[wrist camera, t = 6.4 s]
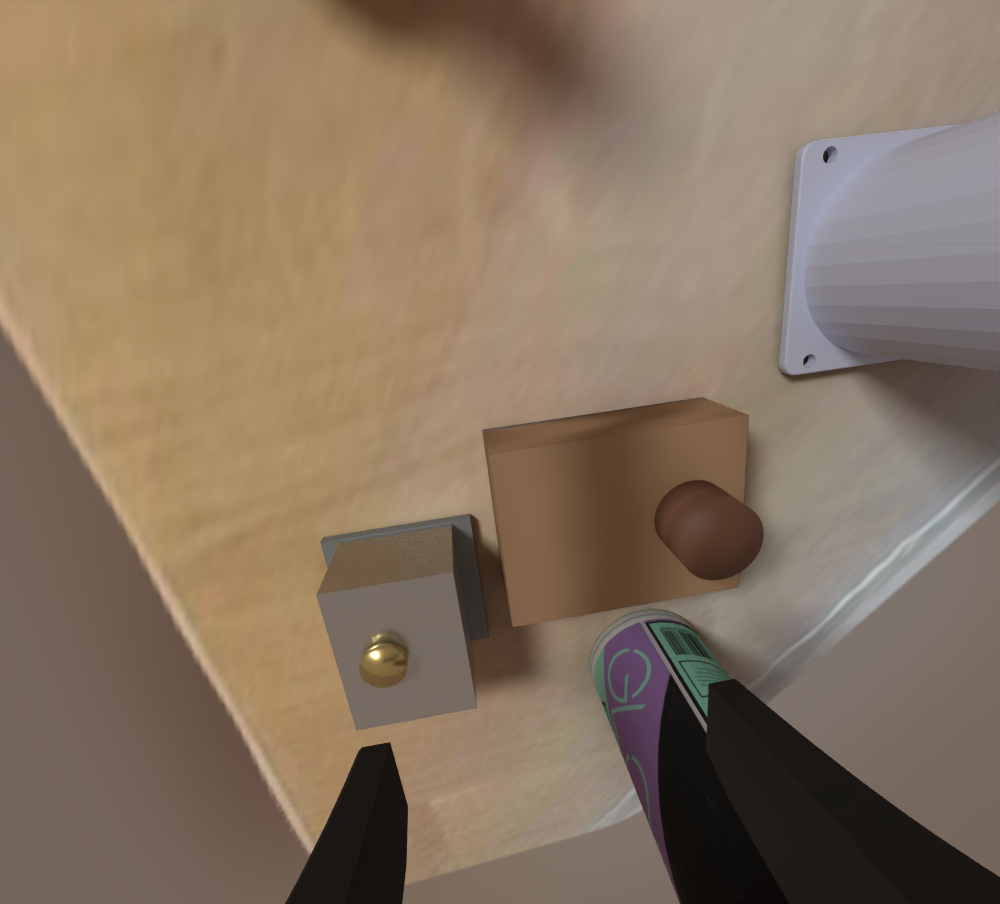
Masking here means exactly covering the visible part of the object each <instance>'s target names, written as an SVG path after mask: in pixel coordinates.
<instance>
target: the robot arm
mask: <svg viewBox="0 0 1000 904" xmlns="http://www.w3.org/2000/svg"><path fill="white" fill-rule="evenodd" d="M825 150H826V151H827V153H828V157H829V158H828V161H827V163H825V162H824V160H823V154H824V151H825ZM807 355H808V361H807V363H806V364H805V365H803V360H804V358H805V357H806V356H807ZM903 359H905V360H913V361H920V362H927V363H935V364H942V365H950V366H957V367H965V368H972V369H980V370H987V371H994V372H1000V111H999V112H996V113H993V114H990V115H987V116H984V117H981V118H978V119H975V120H972V121H969V122H966V123H963V124H958V125H949V126H940V127H931V128H922V129H913V130H904V131H895V132H886V133H877V134H867V135H858V136H849V137H840V138H831V139H822V140H816V141H813V142H810V143H808V144H806V145H804V146H803V147H802V148H801V149H800V150H799V152H798V153H797V156H796V160H795V171H794V183H793V196H792V208H791V221H790V233H789V246H788V258H787V271H786V283H785V296H784V308H783V321H782V333H781V346H780V359H779V367H780V369H781V371H782V372H783V373H785V374H788V375H801V374H808V373H815V372H821V371H828V370H835V369H842V368H849V367H855V366H862V365H869V364H876V363H883V362H890V361H896V360H903ZM706 750H707V752H708V754H709V757H710V759H711V761H712V763H713V766H714V768H715V770H716V772H717V775H718V777H719V779H720V781H721V783H722V785H723V787H724V789H725V792H726V794H727V796H728V798H729V800H730V802H731V804H732V806H733V807H734V809H735V811H736V813H737V814H738V816H739V818H740V820H741V821H742V823H743V825H744V827H745V828H746V830H747V832H748V833H749V835H750V837H751V839H752V840H753V842H754V844H755V846H756V847H757V849H758V851H759V852H760V854H761V856H762V858H763V859H764V861H765V863H766V864H767V866H768V868H769V870H770V871H771V873H772V875H773V876H774V878H775V880H776V882H777V883H778V885H779V887H780V888H781V890H782V892H783V894H784V895H785V897H786V899H787V901H788V902H789V904H1000V877H999V876H997V875H996V874H994V873H993V872H991V871H989V870H988V869H986V868H985V867H983V866H982V865H980V864H979V863H977V862H975V861H974V860H973V859H971V858H969V857H968V856H967V855H965V854H964V853H962V852H960V851H959V850H957V849H956V848H954V847H953V846H951V845H950V844H948V843H947V842H945V841H944V840H942V839H941V838H939V837H938V836H936V835H935V834H934V833H932V832H931V831H929V830H928V829H926V828H925V827H924V826H922V825H920V824H919V823H918V822H916V821H915V820H914V819H912V818H911V817H909V816H908V815H906V814H905V813H904V812H902V811H901V810H899V809H898V808H897V807H895V806H894V805H893V804H891V803H890V802H888V801H887V800H886V799H884V798H883V797H882V796H880V795H879V794H877V793H876V792H875V791H874V790H872V789H871V788H869V787H868V786H867V785H866V784H864V783H863V782H862V781H860V780H859V779H858V778H856V777H855V776H854V775H852V774H851V773H850V772H849V771H847V770H846V769H845V768H843V767H842V766H841V765H840V764H838V763H837V762H836V761H835V760H833V759H832V758H831V757H829V756H828V755H827V754H826V753H824V752H823V751H822V750H821V749H819V748H818V747H817V746H815V745H814V744H813V743H812V742H810V741H809V740H808V739H807V738H805V737H804V736H803V735H801V733H799V732H798V731H797V730H796V729H795V728H793V727H792V726H791V725H790V724H788V723H787V722H786V721H785V720H783V719H782V718H781V717H780V716H779V715H778V714H776V713H775V712H774V711H773V710H772V709H770V708H769V707H768V706H767V705H766V704H764V703H763V702H762V701H761V700H760V699H759V698H757V697H756V696H755V695H754V694H753V693H751V692H750V691H749V690H748V689H747V688H745V687H744V686H743V685H742V684H741V683H739V682H738V681H737V680H735V679H730V680H725V681H719V682H714V683H709V685H708V711H707V736H706ZM407 824H408V805H407V802H406V798H405V794H404V791H403V787H402V784H401V780H400V776H399V773H398V769H397V766H396V762H395V758H394V755H393V751H392V748H391V744H390V742H389V743H384V744H378V745H373V746H367V747H362V748H361V749H360V750H359V752H358V753H357V756H356V758H355V761H354V763H353V765H352V768H351V770H350V772H349V775H348V777H347V779H346V782H345V784H344V786H343V788H342V791H341V793H340V795H339V797H338V799H337V802H336V804H335V806H334V808H333V810H332V812H331V814H330V816H329V819H328V821H327V823H326V825H325V827H324V829H323V831H322V833H321V835H320V837H319V839H318V841H317V843H316V845H315V847H314V849H313V851H312V853H311V855H310V857H309V859H308V861H307V863H306V865H305V867H304V869H303V871H302V873H301V875H300V877H299V879H298V881H297V883H296V885H295V886H294V888H293V890H292V892H291V894H290V896H289V898H288V899H287V901H286V903H285V904H402V900H403V891H404V882H405V873H406V858H407Z"/></svg>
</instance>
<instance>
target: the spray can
mask: <svg viewBox="0 0 1000 904" xmlns="http://www.w3.org/2000/svg"><path fill="white" fill-rule="evenodd" d="M590 669H591V674H592V677H593V680H594V684H595V686H596V689H597V691H598V694H599V696H600V699H601V702H602V704H603V707H604V709H605V712H606V715H607V717H608V720H609V722H610V725H611V727H612V730H613V733H614V735H615V738H616V740H617V743H618V745H619V748H620V751H621V753H622V756H623V758H624V761H625V763H626V766H627V769H628V771H629V774H630V776H631V779H632V782H633V784H634V787H635V789H636V792H637V794H638V797H639V800H640V802H641V805H642V807H643V810H644V812H645V815H646V818H647V820H648V823H649V825H650V828H651V830H652V833H653V836H654V838H655V841H656V843H657V846H658V849H659V851H660V854H661V856H662V859H663V861H664V864H665V867H666V869H667V872H668V874H669V877H670V880H671V882H672V885H673V887H674V890H675V892H676V895H677V898H678V900H679V903H680V904H789V902H788V901H787V899H786V897H785V895H784V894H783V892H782V890H781V888H780V887H779V885H778V883H777V882H776V880H775V878H774V876H773V875H772V873H771V871H770V870H769V868H768V866H767V864H766V863H765V861H764V859H763V858H762V856H761V854H760V852H759V851H758V849H757V847H756V846H755V844H754V842H753V840H752V839H751V837H750V835H749V833H748V832H747V830H746V828H745V827H744V825H743V823H742V821H741V820H740V818H739V816H738V814H737V813H736V811H735V809H734V807H733V806H732V804H731V802H730V800H729V798H728V796H727V794H726V792H725V789H724V787H723V785H722V783H721V781H720V779H719V777H718V775H717V772H716V770H715V768H714V766H713V763H712V761H711V759H710V757H709V754H708V752H707V750H706V736H707V711H708V685H709V683H714V682H719V681H725V680H730V679H731V678H730V677H729V676H728V674H727V673H726V672H725V670H724V669H723V668H722V666H721V665H720V664H719V662H718V661H717V660H716V658H715V657H714V656H713V654H712V653H711V652H710V650H709V649H708V648H707V646H706V645H705V644H704V642H703V641H702V640H701V638H700V637H699V636H698V634H697V633H696V632H695V630H694V629H693V628H692V627H691V626H690V624H689V623H688V622H687V621H686V620H684V619H683V618H682V617H681V616H679V615H677V614H675V613H673V612H669V611H665V610H654V609H652V610H643V611H639V612H635V613H631V614H629V615H627V616H625V617H623V618H620V619H619V620H617V621H616V622H614V623H613V624H611V625H610V626H609V627H608V628H607V629H606V630H605V631H604V632H603V633H602V634H601V636H600V637H599V638H598V640H597V641H596V643H595V645H594V647H593V649H592V653H591V657H590Z"/></svg>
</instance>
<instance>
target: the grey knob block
mask: <svg viewBox="0 0 1000 904" xmlns="http://www.w3.org/2000/svg"><path fill="white" fill-rule="evenodd" d="M317 599H318V602H319V605H320V609H321V612H322V616H323V619H324V622H325V626H326V629H327V632H328V636H329V639H330V643H331V646H332V649H333V653H334V656H335V659H336V663H337V666H338V670H339V673H340V676H341V680H342V683H343V686H344V690H345V693H346V697H347V700H348V703H349V707H350V710H351V713H352V717H353V720H354V723H355V727H356V730H361V729H367V728H372V727H378V726H383V725H388V724H394V723H399V722H404V721H410V720H415V719H420V718H426V717H431V716H436V715H442V714H447V713H452V712H458V711H463V710H468V709H474V708H477V702H476V689H475V676H474V664H473V651H472V640H471V635H470V629H469V623H468V617H467V611H466V605H465V599H464V594H463V588H462V582H461V576H460V570H459V564H458V558H457V553H456V547H455V541H454V535H453V529H452V524H447V525H441V526H435V527H428V528H422V529H416V530H409V531H403V532H397V533H390V534H384V535H378V536H372V537H365V538H359V539H353V540H346V541H340V542H339V544H338V546H337V548H336V551H335V553H334V555H333V558H332V560H331V562H330V565H329V567H328V569H327V572H326V574H325V576H324V579H323V581H322V583H321V586H320V588H319V590H318V592H317Z"/></svg>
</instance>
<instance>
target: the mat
mask: <svg viewBox="0 0 1000 904" xmlns="http://www.w3.org/2000/svg"><path fill="white" fill-rule="evenodd" d="M447 524H452V529H453V535H454V541H455V547H456V553H457V558H458V564H459V570H460V576H461V582H462V588H463V594H464V599H465V605H466V611H467V617H468V623H469V629H470V635H471V640H477V639H482V638H488V637H489V634H488V627H487V620H486V614H485V608H484V602H483V595H482V589H481V583H480V576H479V570H478V564H477V557H476V551H475V545H474V538H473V532H472V526H471V519H470V514H467V515H461V516H455V517H448V518H442V519H436V520H430V521H423V522H417V523H411V524H405V525H398V526H392V527H386V528H380V529H373V530H367V531H361V532H355V533H348V534H342V535H336V536H330V537H324V538H323V539H322V541H321V542H320V543H321V546H322V550H323V553H324V557H325V560H326V564H327V567H329V565H330V562H331V560H332V558H333V555H334V553H335V551H336V548H337V546H338V544H339V542H340V541H346V540H353V539H359V538H365V537H372V536H378V535H384V534H390V533H397V532H403V531H409V530H416V529H422V528H428V527H435V526H441V525H447Z"/></svg>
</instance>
